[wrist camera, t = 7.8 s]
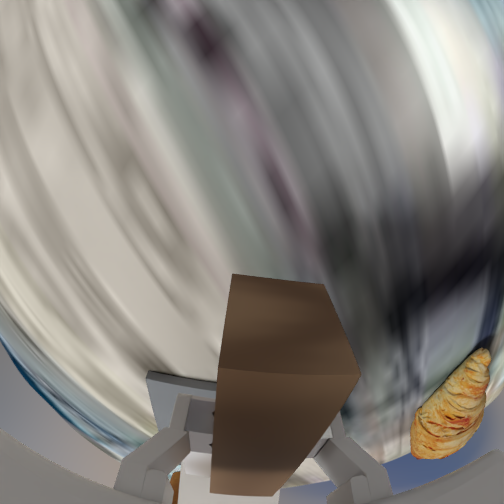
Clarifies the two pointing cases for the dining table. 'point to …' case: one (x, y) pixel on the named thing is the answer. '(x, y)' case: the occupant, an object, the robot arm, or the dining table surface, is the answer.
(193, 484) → the tile
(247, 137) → the dining table surface
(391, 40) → the dining table surface
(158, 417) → the slate board
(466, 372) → the croissant
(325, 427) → the wooden handled scraper
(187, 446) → the robot arm
